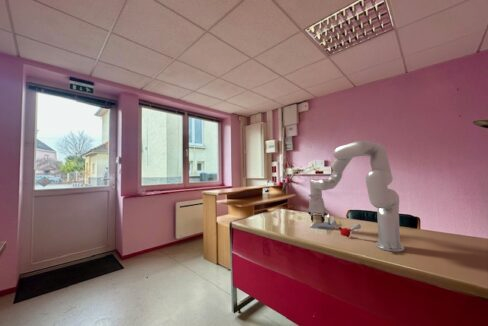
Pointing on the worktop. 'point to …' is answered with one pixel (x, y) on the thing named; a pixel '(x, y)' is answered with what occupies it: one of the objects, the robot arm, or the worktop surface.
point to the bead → (317, 218)
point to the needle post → (329, 219)
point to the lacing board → (323, 226)
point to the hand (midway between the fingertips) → (317, 221)
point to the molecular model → (344, 230)
